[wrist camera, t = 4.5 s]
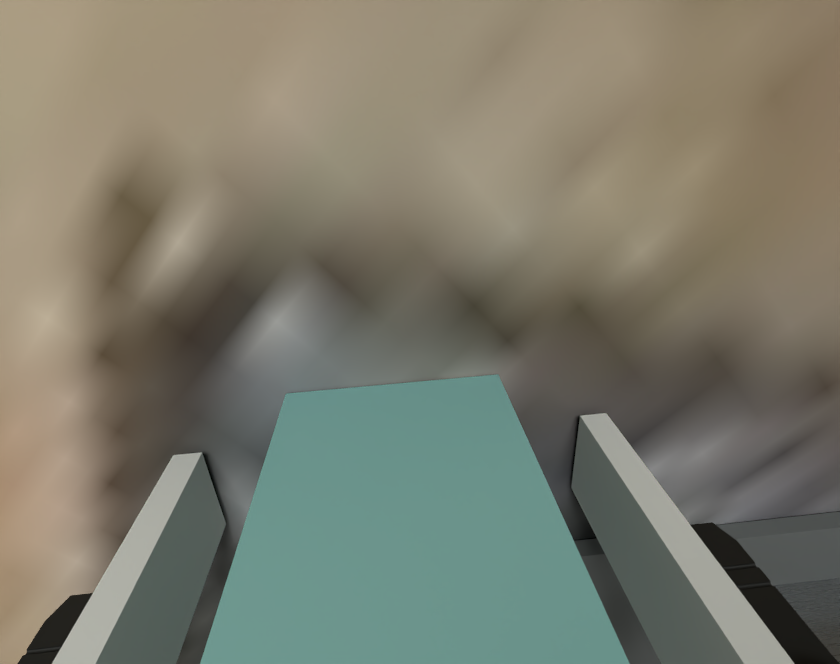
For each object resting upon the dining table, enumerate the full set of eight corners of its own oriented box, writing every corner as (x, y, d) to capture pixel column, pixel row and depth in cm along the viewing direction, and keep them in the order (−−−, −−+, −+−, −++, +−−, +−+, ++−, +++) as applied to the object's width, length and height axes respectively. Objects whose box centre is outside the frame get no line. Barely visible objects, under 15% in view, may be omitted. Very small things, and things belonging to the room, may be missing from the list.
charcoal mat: (348, 565, 15) (347, 582, 14) (976, 496, 16) (997, 509, 16) (385, 769, 21) (385, 787, 21) (837, 709, 22) (849, 723, 22)
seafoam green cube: (285, 393, 12) (166, 769, 5) (497, 374, 12) (649, 706, 5) (318, 542, 14) (265, 930, 8) (494, 523, 15) (594, 881, 8)
